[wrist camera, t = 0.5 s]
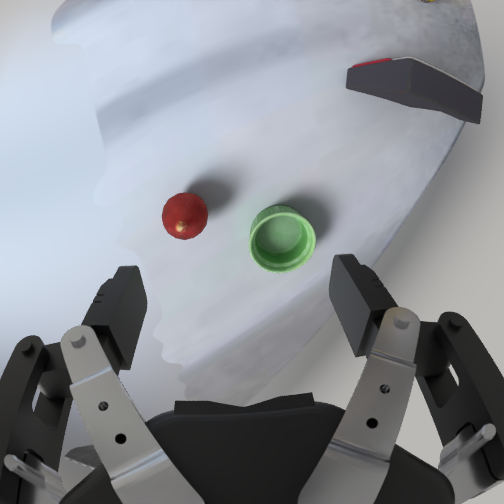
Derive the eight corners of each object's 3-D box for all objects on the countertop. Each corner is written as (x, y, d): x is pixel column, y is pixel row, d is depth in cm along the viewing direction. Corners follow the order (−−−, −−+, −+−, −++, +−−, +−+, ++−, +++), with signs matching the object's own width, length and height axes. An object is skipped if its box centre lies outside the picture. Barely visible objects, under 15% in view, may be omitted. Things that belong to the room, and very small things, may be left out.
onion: (204, 229, 40) (200, 257, 33) (165, 221, 39) (152, 247, 32) (213, 190, 38) (210, 211, 31) (171, 181, 37) (158, 201, 30)
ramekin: (319, 216, 41) (328, 228, 37) (289, 265, 45) (295, 281, 41) (264, 190, 39) (268, 201, 35) (236, 245, 42) (237, 260, 38)
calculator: (412, 84, 31) (485, 89, 18) (409, 110, 34) (481, 125, 20) (347, 63, 30) (409, 49, 17) (344, 92, 32) (406, 92, 19)
